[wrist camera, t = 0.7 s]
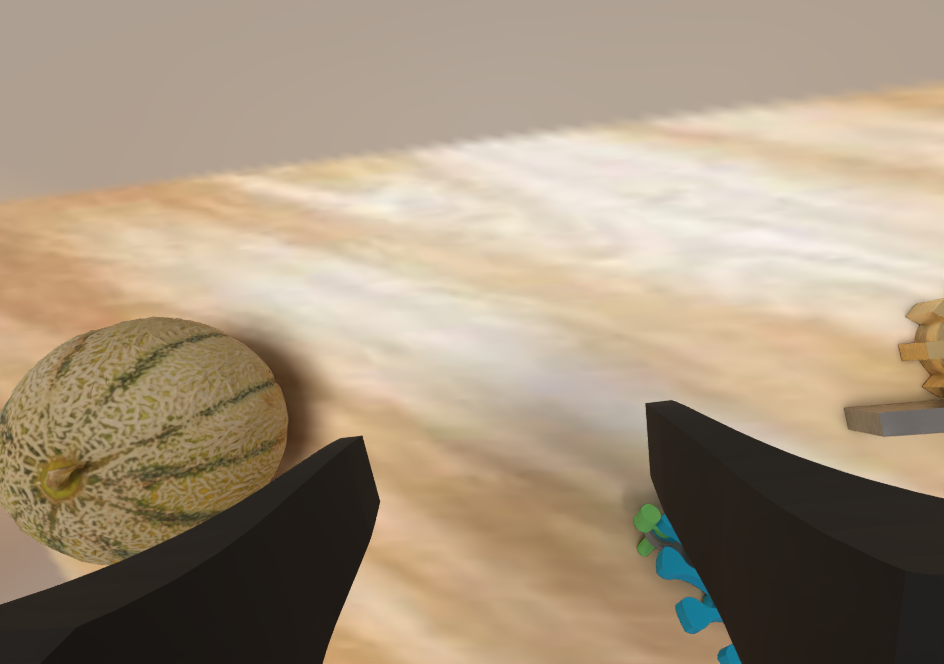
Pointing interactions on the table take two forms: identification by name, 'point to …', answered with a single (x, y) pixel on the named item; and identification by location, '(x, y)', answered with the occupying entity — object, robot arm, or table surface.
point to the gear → (679, 574)
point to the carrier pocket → (940, 352)
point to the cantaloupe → (137, 437)
